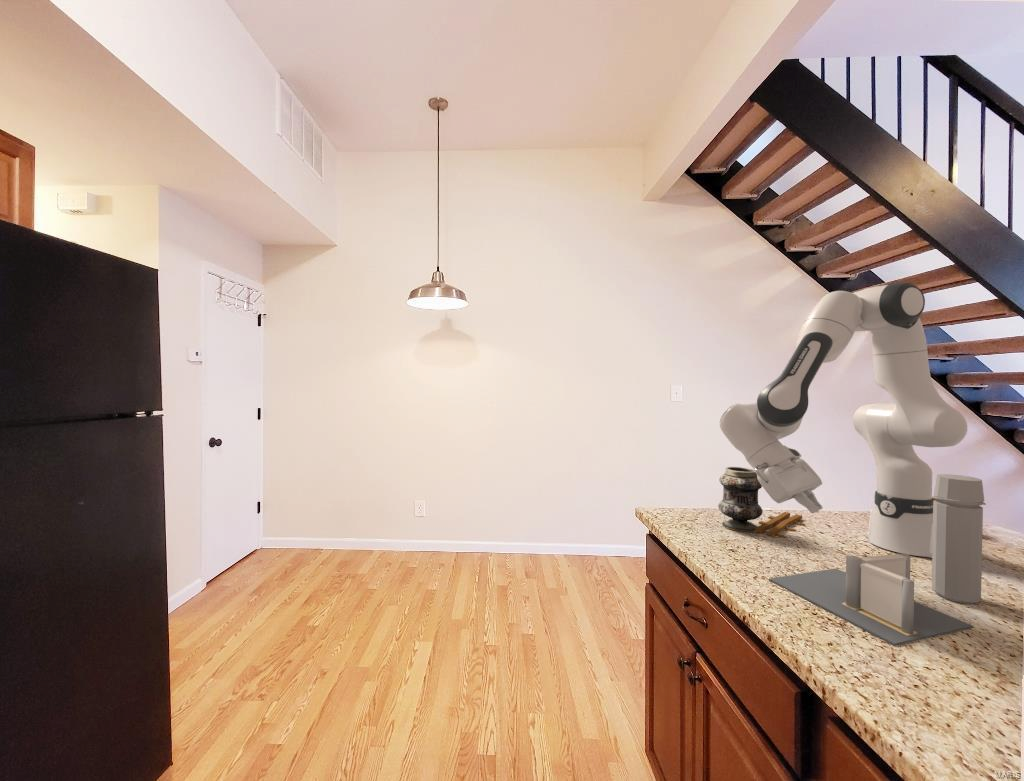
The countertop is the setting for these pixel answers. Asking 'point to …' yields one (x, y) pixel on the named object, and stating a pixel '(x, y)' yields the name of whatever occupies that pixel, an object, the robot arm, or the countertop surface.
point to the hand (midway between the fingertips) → (817, 510)
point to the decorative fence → (781, 525)
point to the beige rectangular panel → (891, 563)
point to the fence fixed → (880, 593)
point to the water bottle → (957, 538)
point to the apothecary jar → (740, 498)
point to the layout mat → (831, 596)
